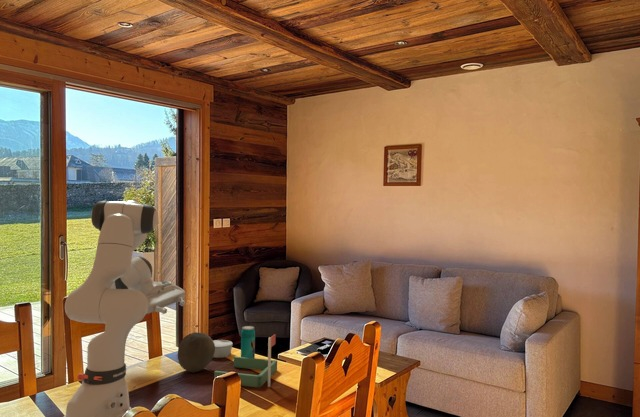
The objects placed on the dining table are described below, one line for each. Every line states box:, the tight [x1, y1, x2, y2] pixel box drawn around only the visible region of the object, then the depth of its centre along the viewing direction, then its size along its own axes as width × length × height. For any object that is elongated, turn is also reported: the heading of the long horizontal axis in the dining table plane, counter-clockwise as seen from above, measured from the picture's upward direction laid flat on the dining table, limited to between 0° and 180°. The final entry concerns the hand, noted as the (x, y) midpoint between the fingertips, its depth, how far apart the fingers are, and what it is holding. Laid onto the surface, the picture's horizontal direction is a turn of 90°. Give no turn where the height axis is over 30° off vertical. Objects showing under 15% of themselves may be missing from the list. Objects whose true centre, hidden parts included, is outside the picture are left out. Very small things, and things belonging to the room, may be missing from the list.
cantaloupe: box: [177, 331, 215, 374], centre depth 200 cm, size 14×14×15 cm
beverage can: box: [240, 325, 256, 358], centre depth 211 cm, size 6×6×15 cm
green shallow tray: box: [213, 334, 278, 388], centre depth 194 cm, size 19×22×18 cm
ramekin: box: [213, 339, 233, 359], centre depth 221 cm, size 11×11×5 cm
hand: (174, 307), depth 204 cm, fingers open, 8 cm apart
